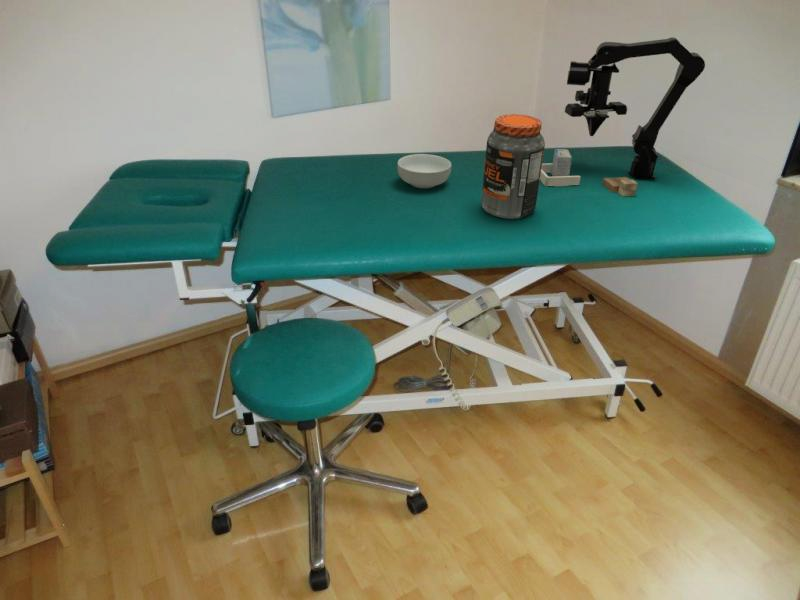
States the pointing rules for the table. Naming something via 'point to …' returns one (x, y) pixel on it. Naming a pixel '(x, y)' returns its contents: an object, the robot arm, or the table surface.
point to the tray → (559, 179)
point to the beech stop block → (627, 188)
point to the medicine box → (561, 163)
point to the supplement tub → (513, 166)
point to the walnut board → (613, 183)
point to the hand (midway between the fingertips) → (591, 135)
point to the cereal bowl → (424, 170)
